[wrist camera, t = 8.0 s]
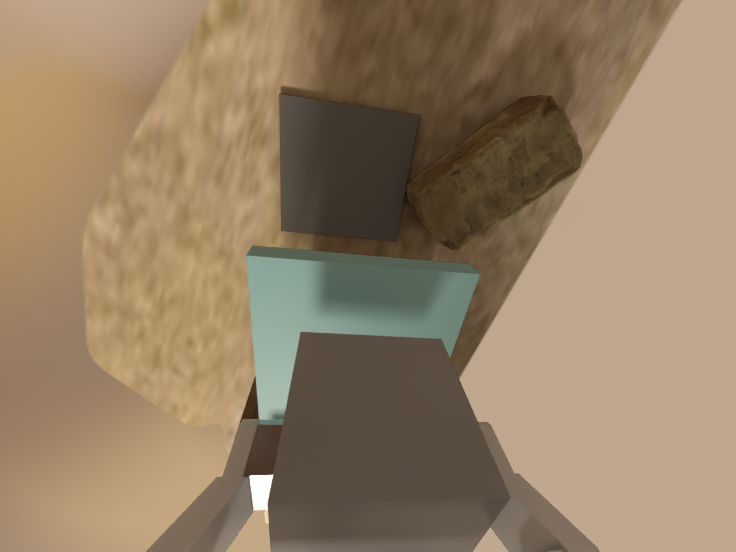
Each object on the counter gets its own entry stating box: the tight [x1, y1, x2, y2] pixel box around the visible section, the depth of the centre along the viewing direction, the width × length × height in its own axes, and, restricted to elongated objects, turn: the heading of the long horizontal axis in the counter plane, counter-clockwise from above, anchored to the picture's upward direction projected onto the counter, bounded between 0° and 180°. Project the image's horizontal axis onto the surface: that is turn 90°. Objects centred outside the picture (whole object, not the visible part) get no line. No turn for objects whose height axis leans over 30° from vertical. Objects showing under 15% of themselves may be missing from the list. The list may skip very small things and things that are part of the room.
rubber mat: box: [279, 94, 420, 241], centre depth 23 cm, size 10×10×1 cm
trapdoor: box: [246, 246, 480, 523], centre depth 17 cm, size 18×10×5 cm, turn 173°
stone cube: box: [267, 332, 511, 552], centre depth 9 cm, size 5×5×5 cm
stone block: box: [406, 95, 582, 250], centre depth 22 cm, size 6×12×5 cm, turn 128°
